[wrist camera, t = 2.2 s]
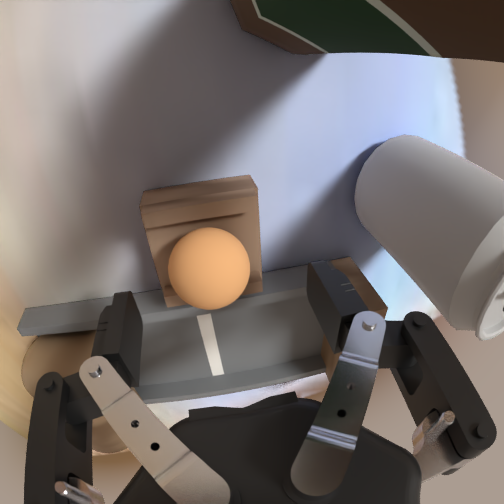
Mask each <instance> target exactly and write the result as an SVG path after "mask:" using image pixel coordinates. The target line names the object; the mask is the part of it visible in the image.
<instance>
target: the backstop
mask: <svg viewBox="0 0 504 504" xmlns="http://www.w3.org/2000/svg"><path fill="white" fill-rule="evenodd" d="M330 261H331V262H332V264H333V265H334V267H335V268H336V269H338V270H339V271H341V272H342V273H344V274H345V275H346V276H347V278H348V279H349V281H350V282H351V284H352V285H353V286H354V288H355V290H356V291H357V292H358V294H359V295H360V297H361V298H362V300H363V301H364V303H365V305H366V306H367V308H368V309H369V311H372V312H375V313H378V314H379V315H381V316H382V317H383V318H384V319H385V316H386V312H387V309H388V307H387V306H386V304H385V303H384V302H383V300H382V299H381V297H380V296H379V295H378V293H377V292H376V291H375V289H374V288H373V287H372V285H371V284H370V283H369V281H368V280H367V279H366V277H365V276H364V275H363V273H362V272H361V271H360V269H359V268H358V267H357V265H356V264H355V263H354V261H353V260H352V259H351V258H350V257H346V258H341V259H336V260H330ZM340 354H342V352H340V353H336V354H334V353H333V351H332V349H331V347H330V345H329V343H328V341H327V338H326V336H325V334H324V336H323V342H322V348H321V356H322V359H323V361H324V363H325V365H326V372H325V373H326V375H327V377H328V379H329V382H330V381H331V378H332V375H333V373H334V370H335V368H336V365H337V362H338V359H339V357H340Z"/></svg>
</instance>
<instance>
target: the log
mask: <svg viewBox="0 0 504 504" xmlns="http://www.w3.org/2000/svg"><path fill="white" fill-rule="evenodd" d="M96 330H97V329H96ZM96 330H87V331H77V332H67V333H56V334H45V335H40V336H39V337H38V338H37V339H36V340H35V341H34V342H33V343H32V345H31V346H30V348H29V349H28V351H27V353H26V355H25V357H24V360H23V364H22V381H23V384H24V386H25V388H26V390H27V391H28V392H29V393H30V394H31V395H32V396H33V398H34V395H35V390H36V385H37V382H38V380H39V379H40V378H41V377H42V376H43V375H44V374H46V373H48V372H57V373H59V374H60V375H61V376H62V378H64V377H67V376H69V375H72V374H75V373H77V372H79V370H80V367H81V365H82V364H83V363H84V362H85V361H86V360H87V359H89V358H91V353H92V348H93V343H94V339H95V334H96V332H97V331H96ZM131 390H133V391H134V392H135V393H136V394H137V395H138V397H139V398H140V399H141V397H140V396H139V394H138V393H137V391H136V390H135V388H134V387H131ZM141 400H142V399H141ZM142 401H143V400H142ZM126 448H128V447H127V446H126V445H125V444H124V442H123V441H122V440H121V438H120V437H119V436H118V435H117V433H116V432H115V431H114V429H113V428H112V427H111V425H110V424H109V422H108V421H107V420H106V418H105V417H104V416H101V417H99V418H96V419H93V423H92V449H93V450H95V451H98V452H102V453H115V452H119V451H122V450H124V449H126Z"/></svg>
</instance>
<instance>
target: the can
mask: <svg viewBox="0 0 504 504" xmlns="http://www.w3.org/2000/svg"><path fill="white" fill-rule="evenodd" d="M354 200H355V207H356V214H357V216H358V218H359V219H360V221H361V223H362V225H363V227H364V228H365V229H366V230H367V231H368V232H369V233H370V234H371V235H372V236H373V237H374V238H375V239H376V240H377V241H378V242H379V243H380V244H381V245H382V246H383V247H384V249H385V250H386V251H387V252H388V253H389V254H390V255H391V256H392V257H393V258H394V259H395V260H396V262H397V263H398V264H399V265H400V266H401V267H402V268H403V269H404V270H405V272H406V273H407V274H408V275H409V276H410V277H411V278H412V279H413V281H414V282H415V283H416V284H417V285H418V286H419V288H420V289H421V290H422V291H423V292H424V293H425V295H426V296H427V297H428V298H429V299H430V301H431V302H432V303H433V304H434V305H435V307H436V308H437V309H438V310H439V311H440V313H441V314H442V315H443V316H444V318H445V319H446V320H447V321H448V322H449V324H450V325H451V326H452V327H454V328H455V329H456V330H475V331H476V332H475V335H476V337H478V338H479V340H489V339H492V338H494V337H495V336H497V335H499V334H501V333H502V332H503V331H504V181H503V180H502V179H500V178H499V177H497V176H495V175H493V174H492V173H490V172H488V171H487V170H485V169H483V168H481V167H479V166H477V165H476V164H474V163H472V162H470V161H468V160H467V159H465V158H463V157H461V156H459V155H457V154H455V153H453V152H451V151H449V150H447V149H445V148H442V147H440V146H438V145H436V144H434V143H432V142H430V141H427V140H425V139H423V138H421V137H418V136H412V135H401V136H397V137H394V138H390V139H388V140H387V141H386V142H384V143H383V144H381V145H380V146H379V147H377V148H376V149H375V150H374V151H373V153H372V154H371V155H370V157H369V158H368V159H367V160H366V162H365V163H364V165H363V167H362V170H361V172H360V174H359V177H358V179H357V183H356V190H355V196H354Z"/></svg>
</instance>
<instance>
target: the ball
mask: <svg viewBox="0 0 504 504" xmlns="http://www.w3.org/2000/svg"><path fill="white" fill-rule="evenodd" d="M168 274H169V279H170V282H171V285H172V287H173V289H174V290H175V292H176V293H177V295H178V296H179V297H180V298H181V299H182V300H183V301H185V302H186V303H188V304H190V305H191V306H194V307H196V308H200V309H206V310H213V309H219V308H222V307H225V306H227V305H229V304H231V303H232V302H234V301H235V300H236V299H237V298H238V297H239V296H240V295H241V294H242V293H243V291H244V289H245V287H246V285H247V283H248V280H249V275H250V262H249V257H248V254H247V252H246V250H245V248H244V246H243V245H242V243H241V242H240V241H239V240H238V239H237V238H236V237H235V236H233V235H232V234H231V233H229V232H227V231H225V230H222V229H218V228H212V227H206V228H199V229H196V230H193V231H191V232H189V233H188V234H186V235H185V236H183V237H182V238H181V239H180V240H179V241H178V242H177V244H176V245H175V246H174V248H173V250H172V252H171V255H170V258H169V264H168Z"/></svg>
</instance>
